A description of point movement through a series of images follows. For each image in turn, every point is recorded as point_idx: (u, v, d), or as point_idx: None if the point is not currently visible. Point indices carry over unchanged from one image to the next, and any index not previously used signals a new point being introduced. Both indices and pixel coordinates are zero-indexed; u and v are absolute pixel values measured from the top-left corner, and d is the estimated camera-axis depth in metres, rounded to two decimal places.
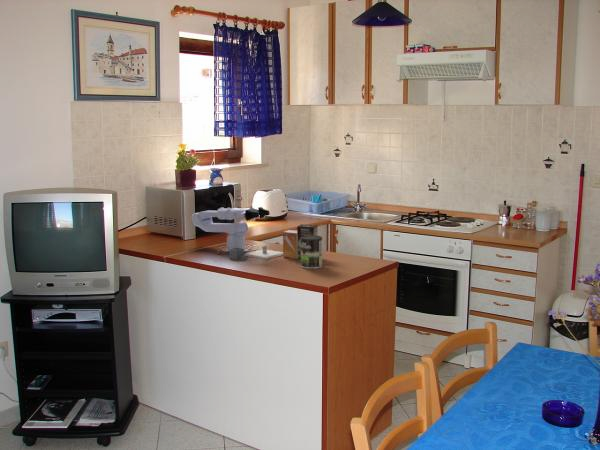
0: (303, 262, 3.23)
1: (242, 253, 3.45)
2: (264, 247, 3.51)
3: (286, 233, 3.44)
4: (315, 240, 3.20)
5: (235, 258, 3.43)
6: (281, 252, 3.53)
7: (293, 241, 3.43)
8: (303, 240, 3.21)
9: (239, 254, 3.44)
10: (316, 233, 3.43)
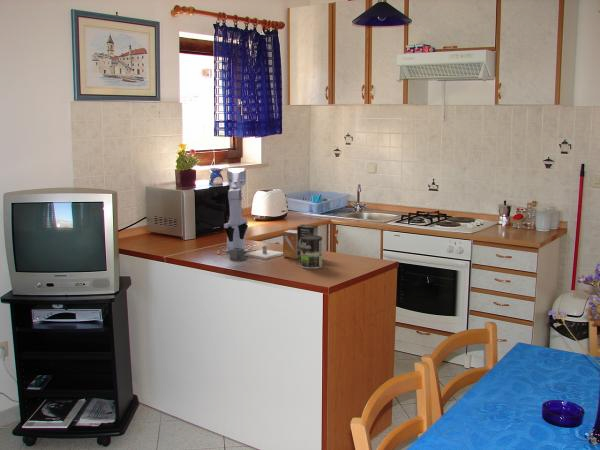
0: (303, 262, 3.23)
1: (242, 253, 3.45)
2: (264, 247, 3.51)
3: (286, 233, 3.44)
4: (315, 240, 3.20)
5: (235, 258, 3.43)
6: (281, 252, 3.53)
7: (292, 241, 3.43)
8: (303, 240, 3.21)
9: (239, 254, 3.44)
10: (316, 234, 3.43)
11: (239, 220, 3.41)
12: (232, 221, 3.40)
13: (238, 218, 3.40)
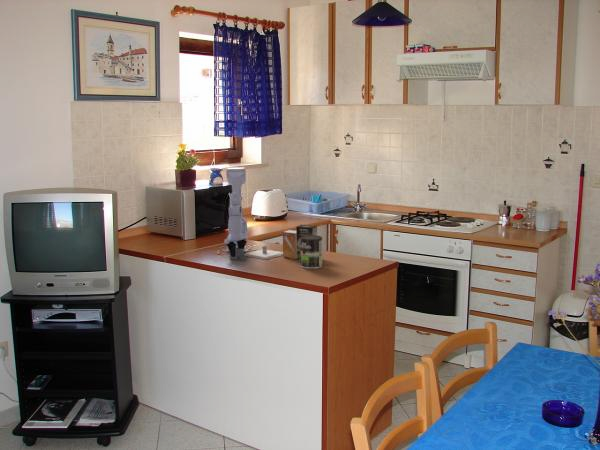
0: (303, 262, 3.23)
1: (242, 253, 3.45)
2: (264, 247, 3.51)
3: (285, 233, 3.45)
4: (315, 240, 3.20)
5: (235, 258, 3.43)
6: (281, 252, 3.53)
7: (292, 242, 3.43)
8: (303, 240, 3.21)
9: (239, 254, 3.44)
10: (315, 233, 3.42)
11: (239, 236, 3.42)
12: (232, 237, 3.42)
13: (238, 234, 3.42)
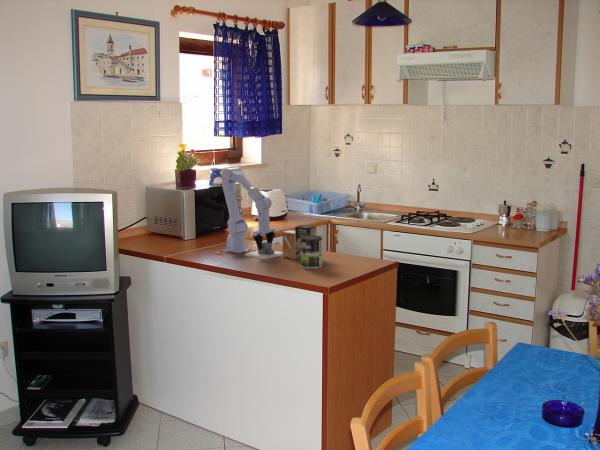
0: (303, 262, 3.23)
1: (270, 247, 3.52)
2: None
3: (285, 233, 3.45)
4: (315, 240, 3.20)
5: (263, 252, 3.50)
6: (281, 252, 3.53)
7: (291, 242, 3.43)
8: (303, 240, 3.21)
9: (267, 248, 3.50)
10: (314, 234, 3.41)
11: (267, 228, 3.48)
12: (261, 229, 3.48)
13: (266, 226, 3.48)
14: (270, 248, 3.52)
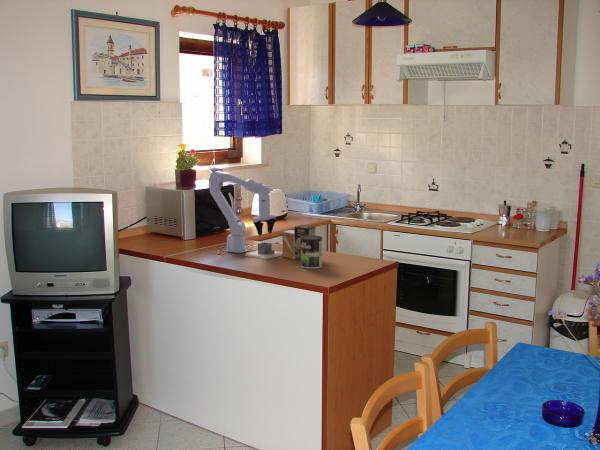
0: (303, 262, 3.23)
1: (270, 247, 3.52)
2: None
3: (285, 233, 3.45)
4: (315, 240, 3.20)
5: (263, 252, 3.50)
6: (281, 252, 3.53)
7: (290, 242, 3.43)
8: (303, 240, 3.21)
9: (267, 248, 3.50)
10: (313, 234, 3.40)
11: (268, 215, 3.57)
12: (261, 216, 3.56)
13: (267, 213, 3.56)
14: (270, 248, 3.52)
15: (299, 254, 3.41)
